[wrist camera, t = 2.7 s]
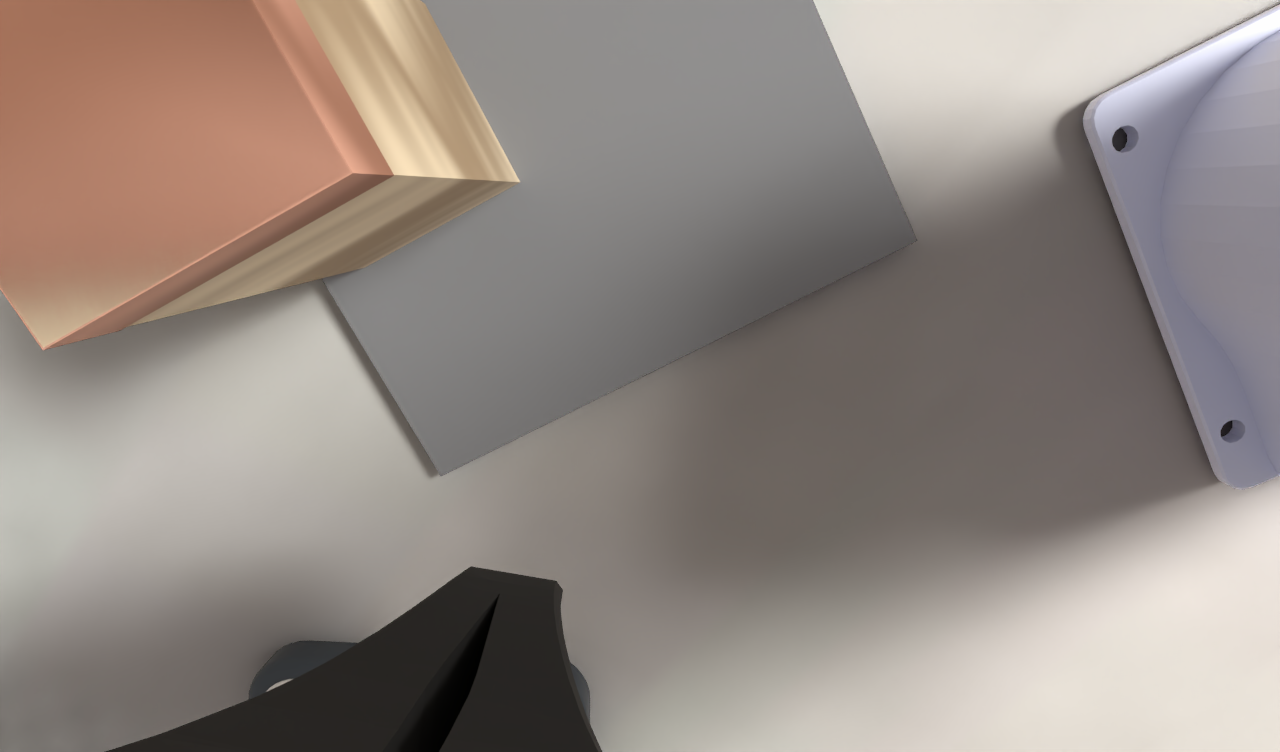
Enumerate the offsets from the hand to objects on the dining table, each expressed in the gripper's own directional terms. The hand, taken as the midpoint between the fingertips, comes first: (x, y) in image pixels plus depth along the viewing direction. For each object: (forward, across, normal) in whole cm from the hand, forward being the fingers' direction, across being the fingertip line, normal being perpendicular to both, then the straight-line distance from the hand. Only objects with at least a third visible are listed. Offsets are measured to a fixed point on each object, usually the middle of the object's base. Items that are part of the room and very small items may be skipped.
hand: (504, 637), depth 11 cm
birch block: (+7, +5, -6) cm, 11 cm away
